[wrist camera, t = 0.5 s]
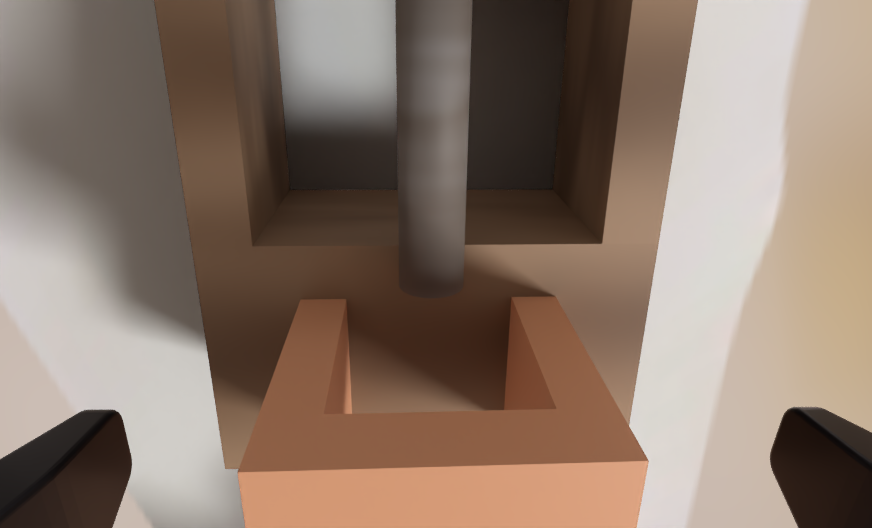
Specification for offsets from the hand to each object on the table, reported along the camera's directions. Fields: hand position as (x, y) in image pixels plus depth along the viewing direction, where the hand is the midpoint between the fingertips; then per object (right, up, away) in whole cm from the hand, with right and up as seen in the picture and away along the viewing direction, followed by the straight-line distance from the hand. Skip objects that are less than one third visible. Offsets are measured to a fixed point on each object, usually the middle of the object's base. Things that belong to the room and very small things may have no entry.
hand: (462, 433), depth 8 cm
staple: (-1, 0, +8) cm, 8 cm away
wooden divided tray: (-1, +6, +12) cm, 13 cm away
